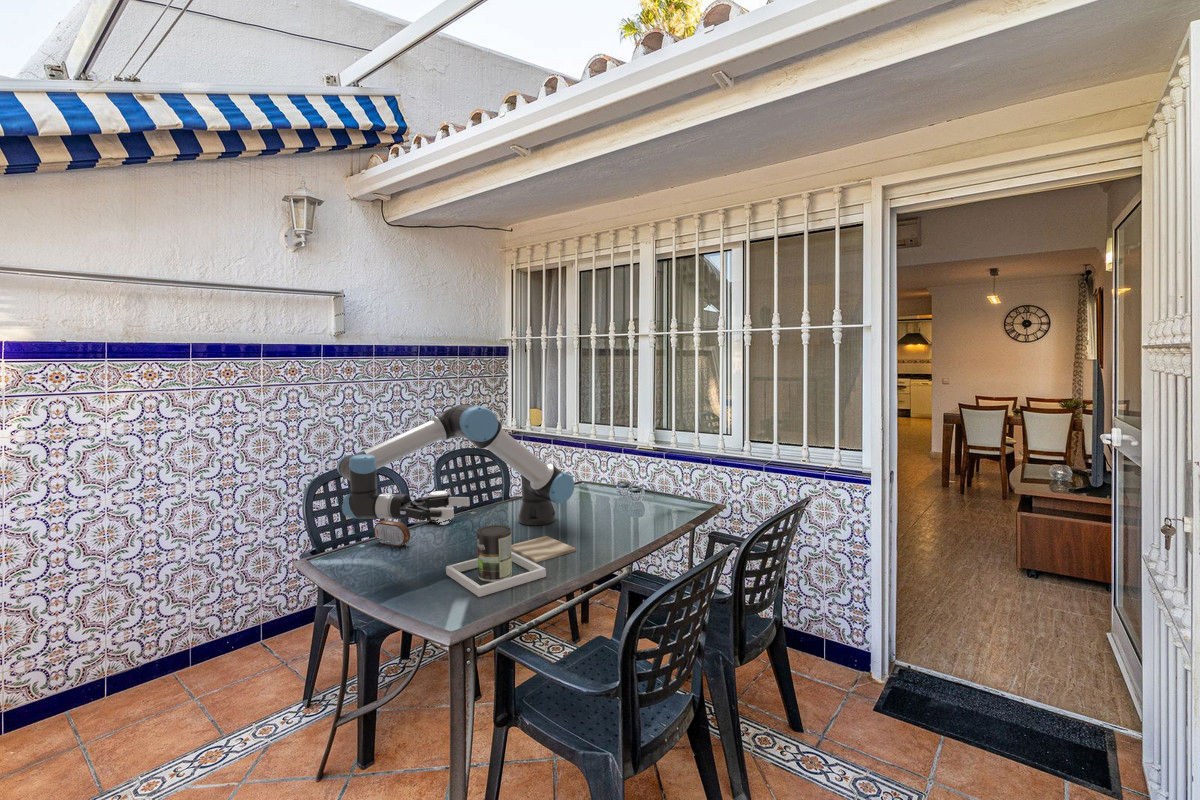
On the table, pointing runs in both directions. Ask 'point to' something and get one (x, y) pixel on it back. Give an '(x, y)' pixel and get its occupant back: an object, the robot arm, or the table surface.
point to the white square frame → (483, 590)
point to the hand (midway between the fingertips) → (461, 507)
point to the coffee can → (494, 553)
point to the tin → (392, 532)
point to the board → (542, 548)
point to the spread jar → (440, 493)
